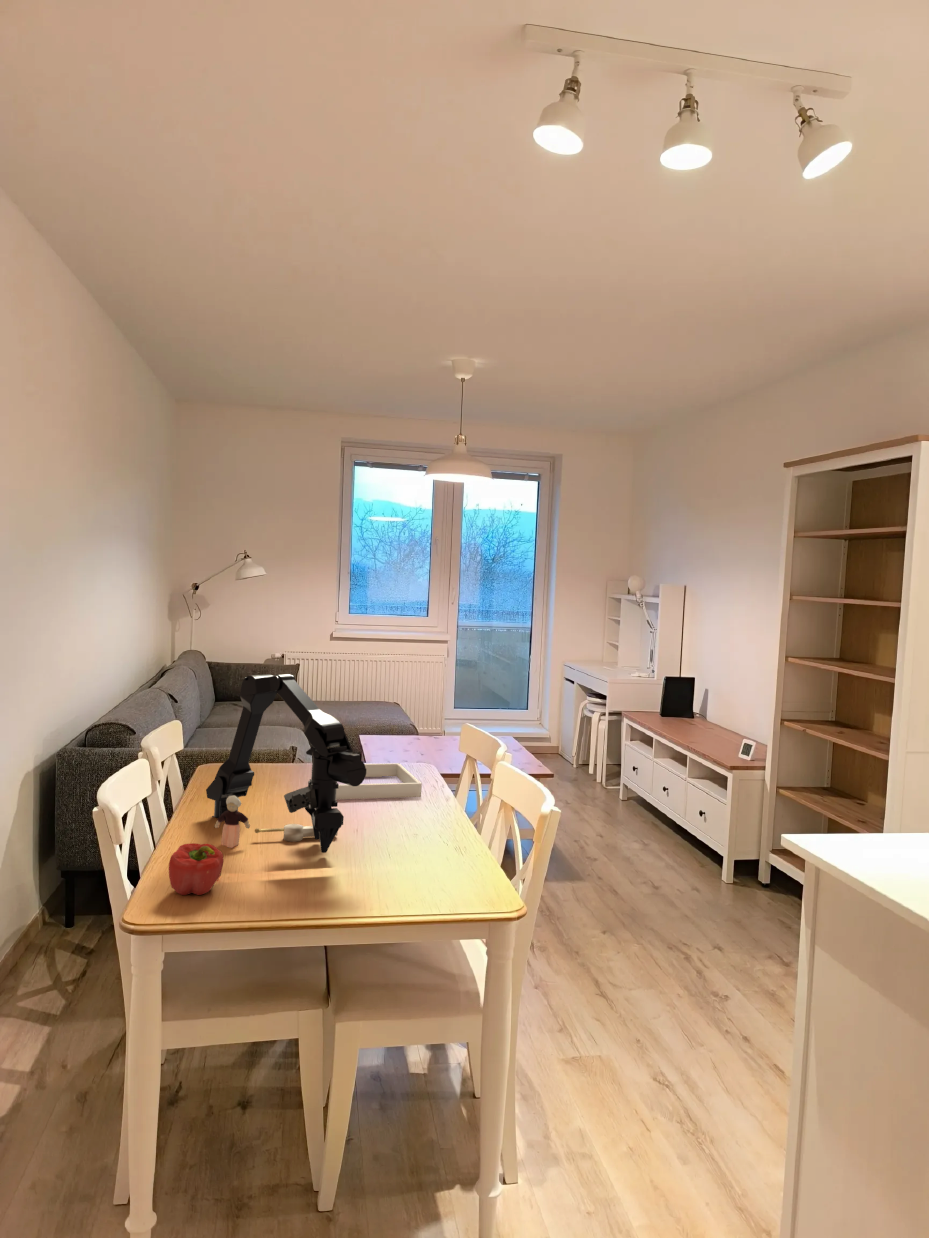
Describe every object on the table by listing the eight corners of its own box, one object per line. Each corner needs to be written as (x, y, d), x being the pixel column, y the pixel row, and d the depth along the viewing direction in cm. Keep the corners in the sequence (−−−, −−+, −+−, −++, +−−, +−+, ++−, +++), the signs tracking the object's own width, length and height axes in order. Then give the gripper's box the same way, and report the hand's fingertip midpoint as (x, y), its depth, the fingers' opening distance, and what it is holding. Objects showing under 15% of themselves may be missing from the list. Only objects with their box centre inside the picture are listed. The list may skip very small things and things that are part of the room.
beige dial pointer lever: (254, 843, 187) (255, 831, 187) (253, 837, 191) (253, 825, 191) (338, 839, 194) (338, 827, 193) (334, 833, 198) (335, 822, 198)
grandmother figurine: (213, 854, 183) (215, 798, 182) (213, 848, 186) (216, 793, 186) (248, 853, 185) (251, 797, 184) (248, 847, 188) (251, 793, 188)
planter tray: (317, 777, 257) (318, 764, 257) (398, 775, 266) (399, 763, 266) (332, 799, 233) (333, 785, 233) (421, 796, 242) (421, 783, 241)
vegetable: (234, 894, 161) (237, 843, 161) (186, 907, 153) (188, 854, 153) (204, 878, 168) (207, 830, 168) (157, 890, 161) (159, 839, 160)
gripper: (282, 767, 191) (279, 834, 192) (293, 788, 173) (289, 861, 174) (330, 767, 195) (327, 832, 195) (345, 787, 177) (341, 859, 178)
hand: (320, 845), depth 186 cm, fingers open, 9 cm apart
